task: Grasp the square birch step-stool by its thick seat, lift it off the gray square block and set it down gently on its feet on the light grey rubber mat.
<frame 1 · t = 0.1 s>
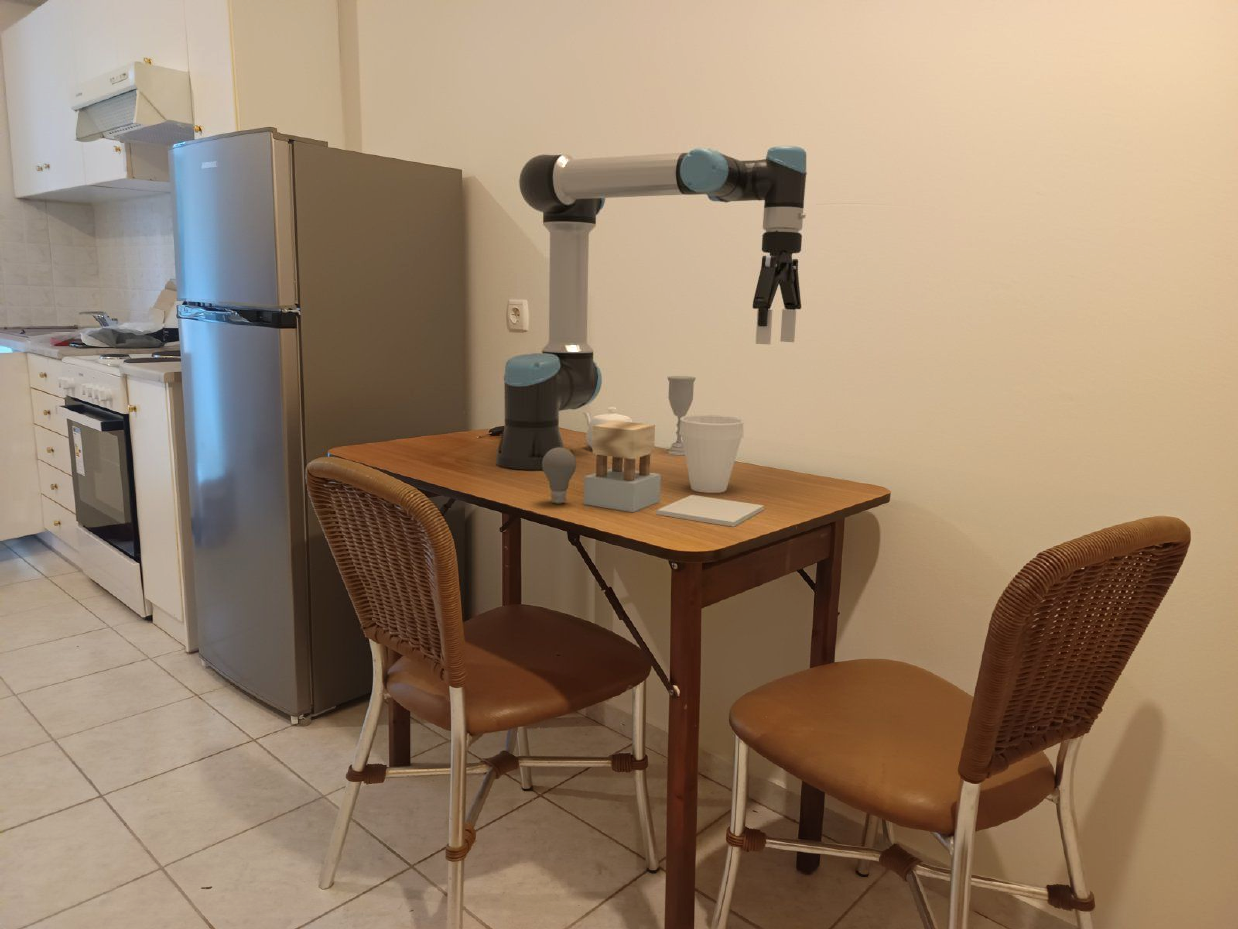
hand: (775, 343, 172), 28 cm above the table, fingers open, 13 cm apart
mat: (711, 512, 151), on the table
cup: (708, 489, 170), on the table
gray square block: (622, 502, 156), on the table
teapot: (609, 449, 211), on the table
stool: (623, 475, 155), point 5 cm above the table, touching gray square block
light bulb: (558, 504, 155), on the table
chalice: (678, 453, 208), on the table
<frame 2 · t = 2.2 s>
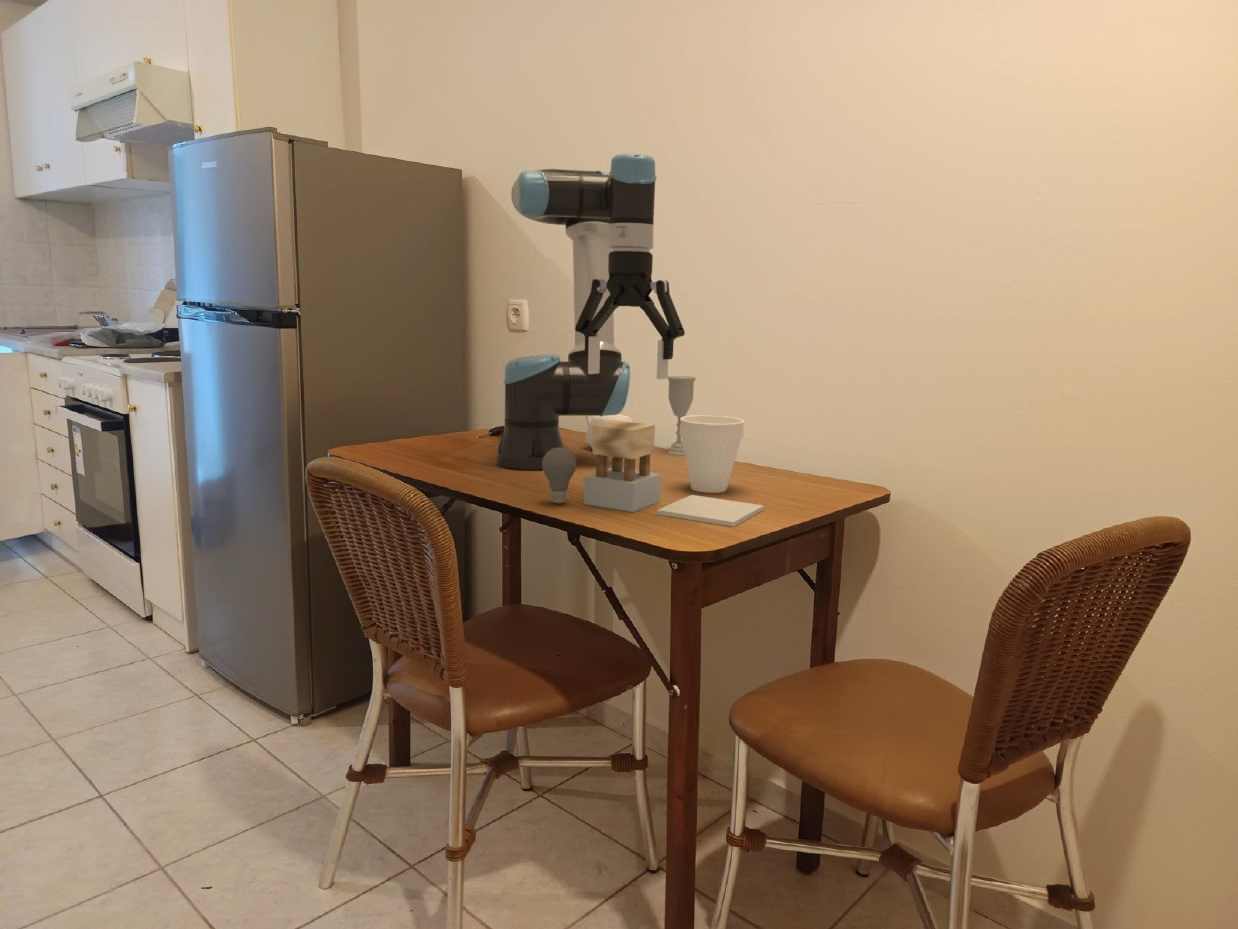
hand: (627, 376, 152), 23 cm above the table, fingers open, 13 cm apart
nothing on the table moved.
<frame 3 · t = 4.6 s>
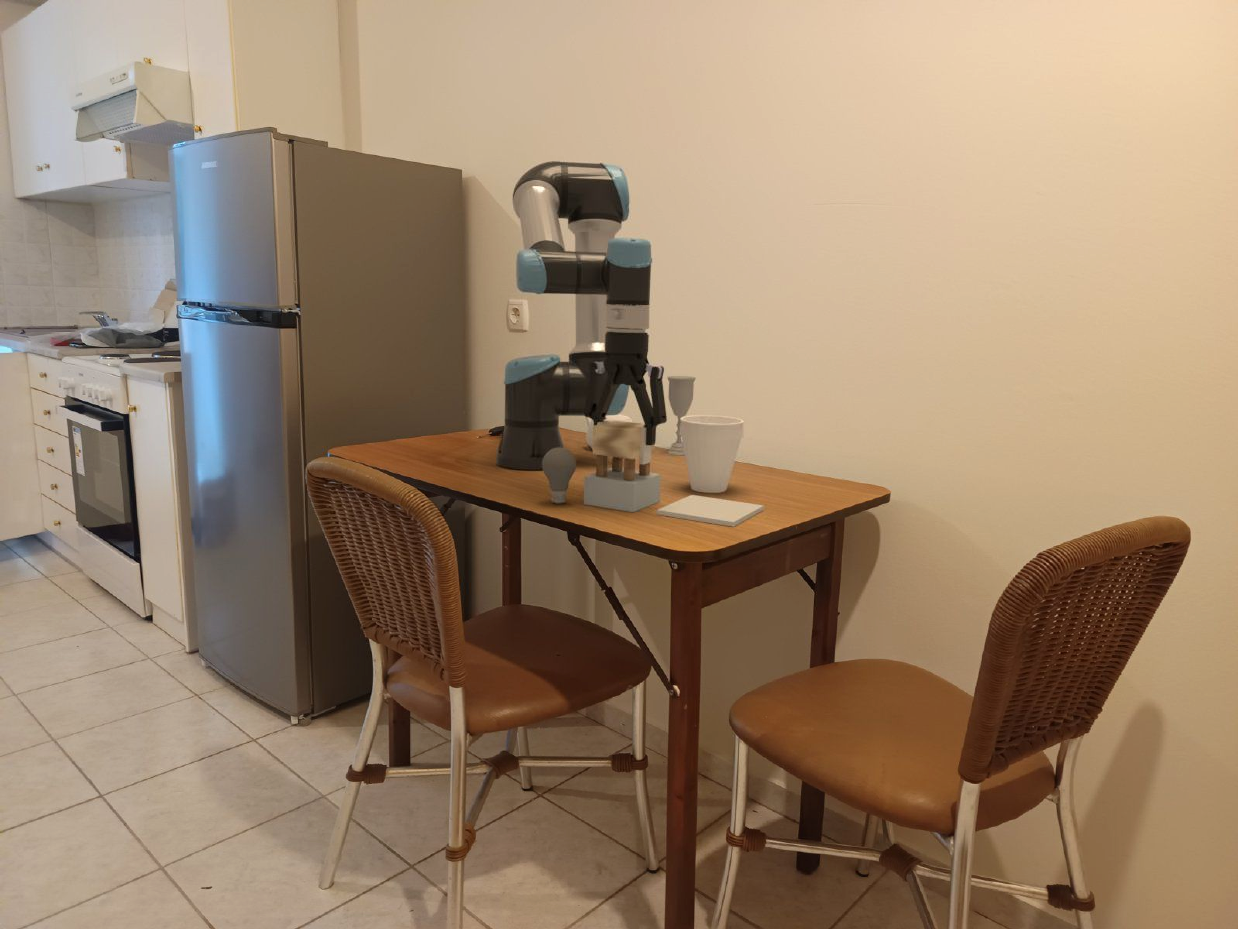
hand: (623, 460, 155), 8 cm above the table, fingers closed on stool, 8 cm apart
stool: (623, 475, 155), point 5 cm above the table, touching gray square block, gripper
everything else where it was.
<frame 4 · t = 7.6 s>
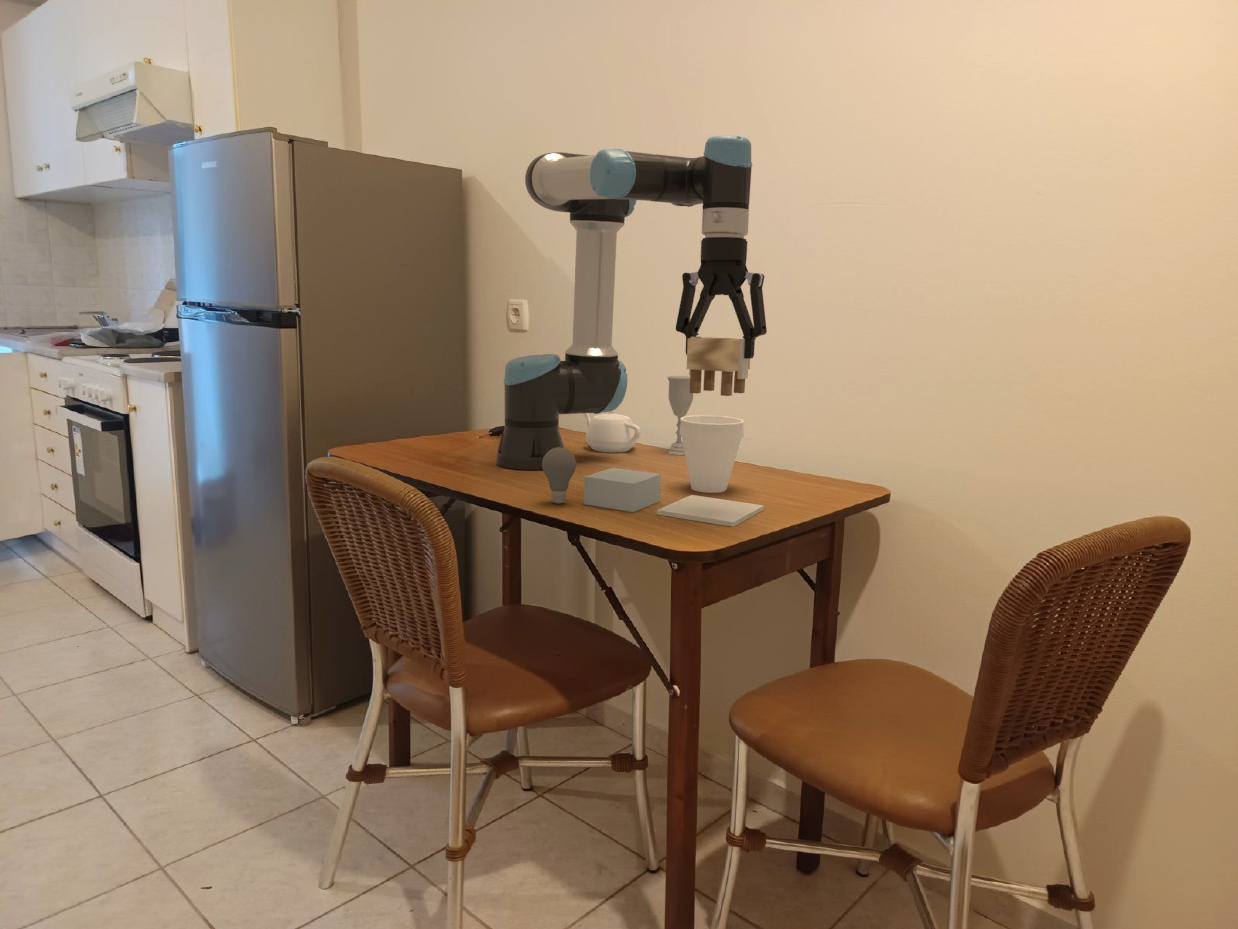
hand: (718, 376, 147), 23 cm above the table, fingers closed on stool, 8 cm apart
stool: (717, 392, 147), point 21 cm above the table, touching gripper
everything else where it was.
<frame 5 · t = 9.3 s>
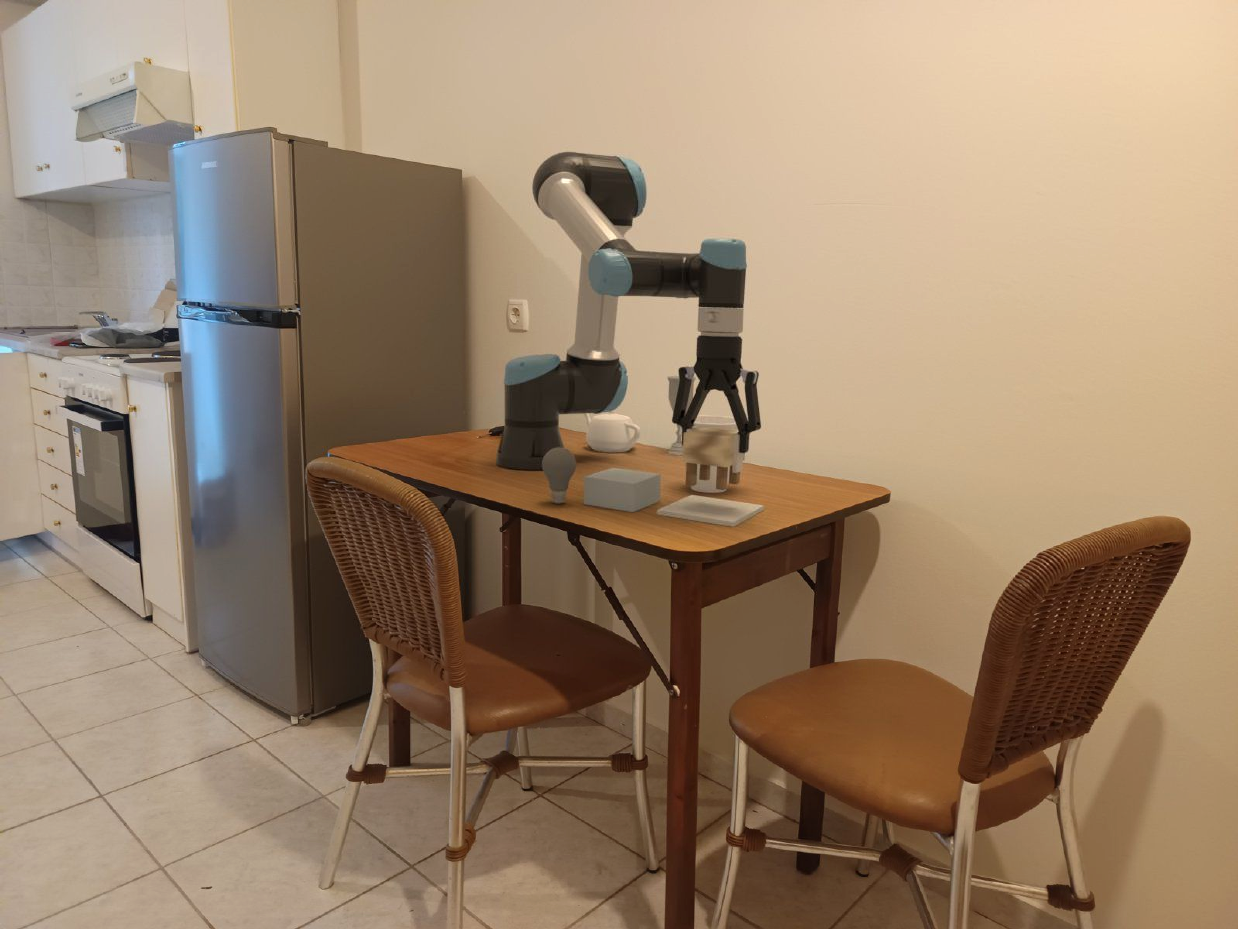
hand: (713, 468, 150), 8 cm above the table, fingers closed on stool, 8 cm apart
stool: (712, 484, 150), point 5 cm above the table, touching gripper
everything else where it was.
when the fingers open (5 cm above the table, at t = 10.6 s): stool drops 2 cm, resting on mat.
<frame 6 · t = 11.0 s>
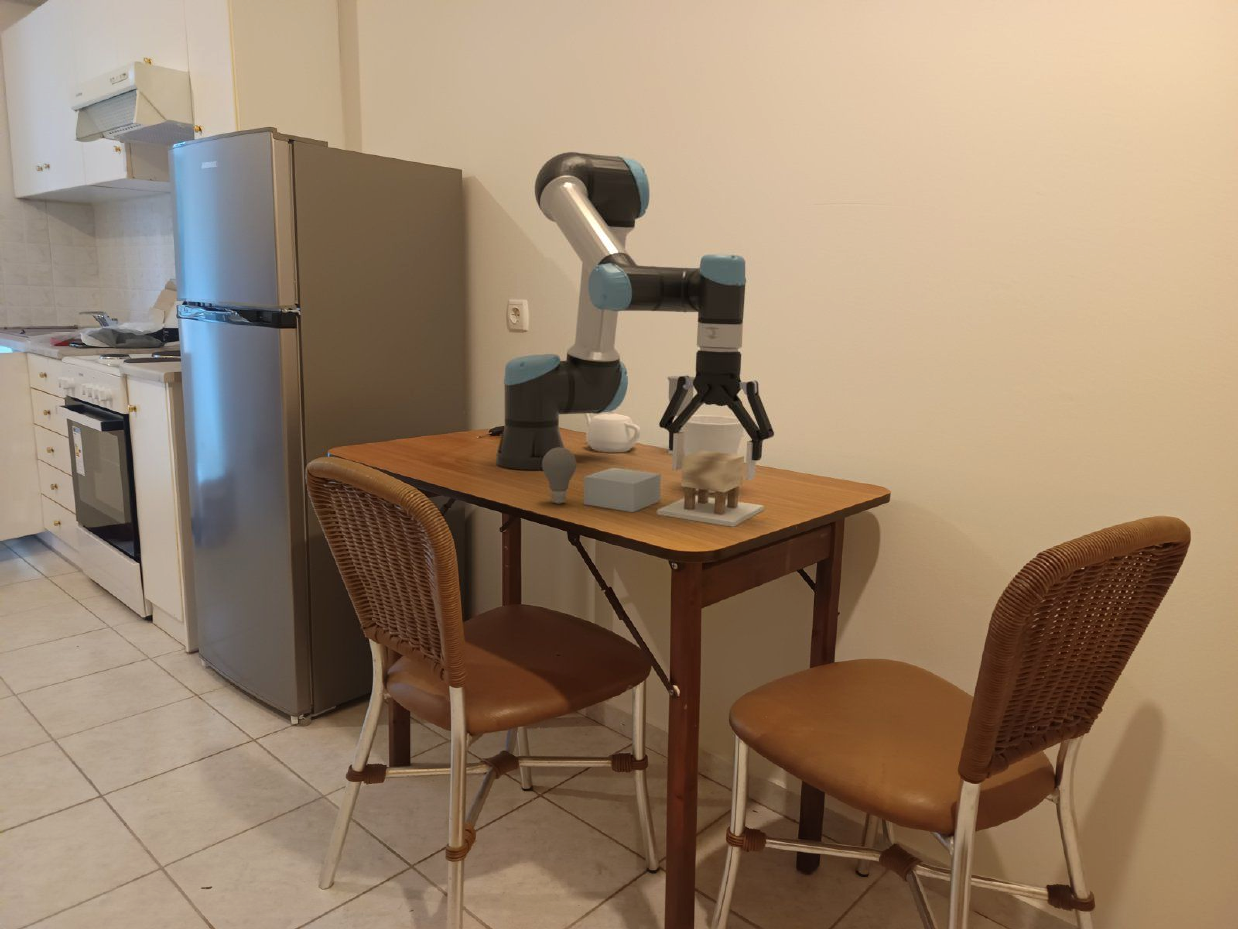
hand: (712, 474, 150), 7 cm above the table, fingers open, 13 cm apart
stool: (711, 507, 151), point 1 cm above the table, touching mat
everything else where it was.
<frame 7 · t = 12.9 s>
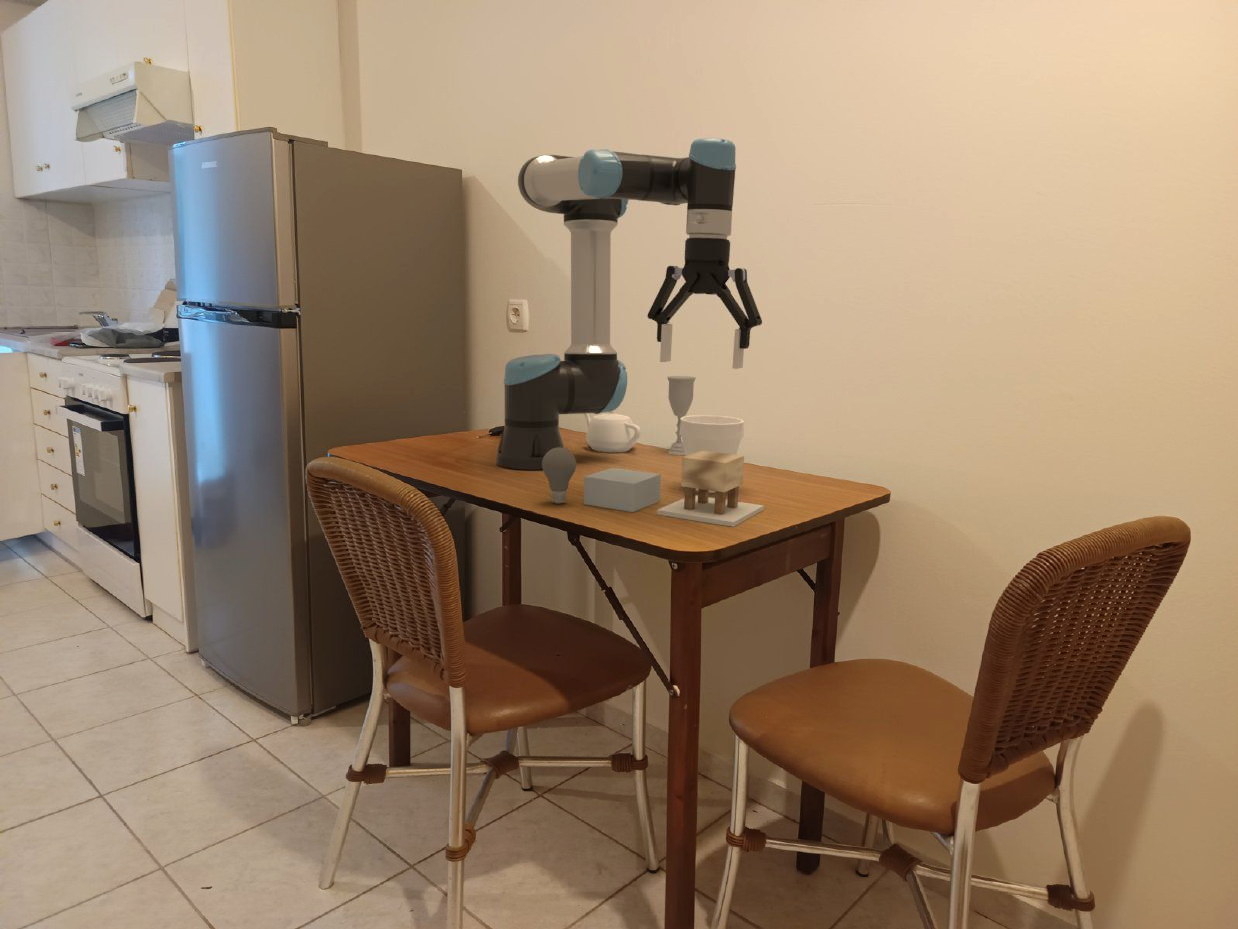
hand: (700, 364, 150), 25 cm above the table, fingers open, 13 cm apart
nothing on the table moved.
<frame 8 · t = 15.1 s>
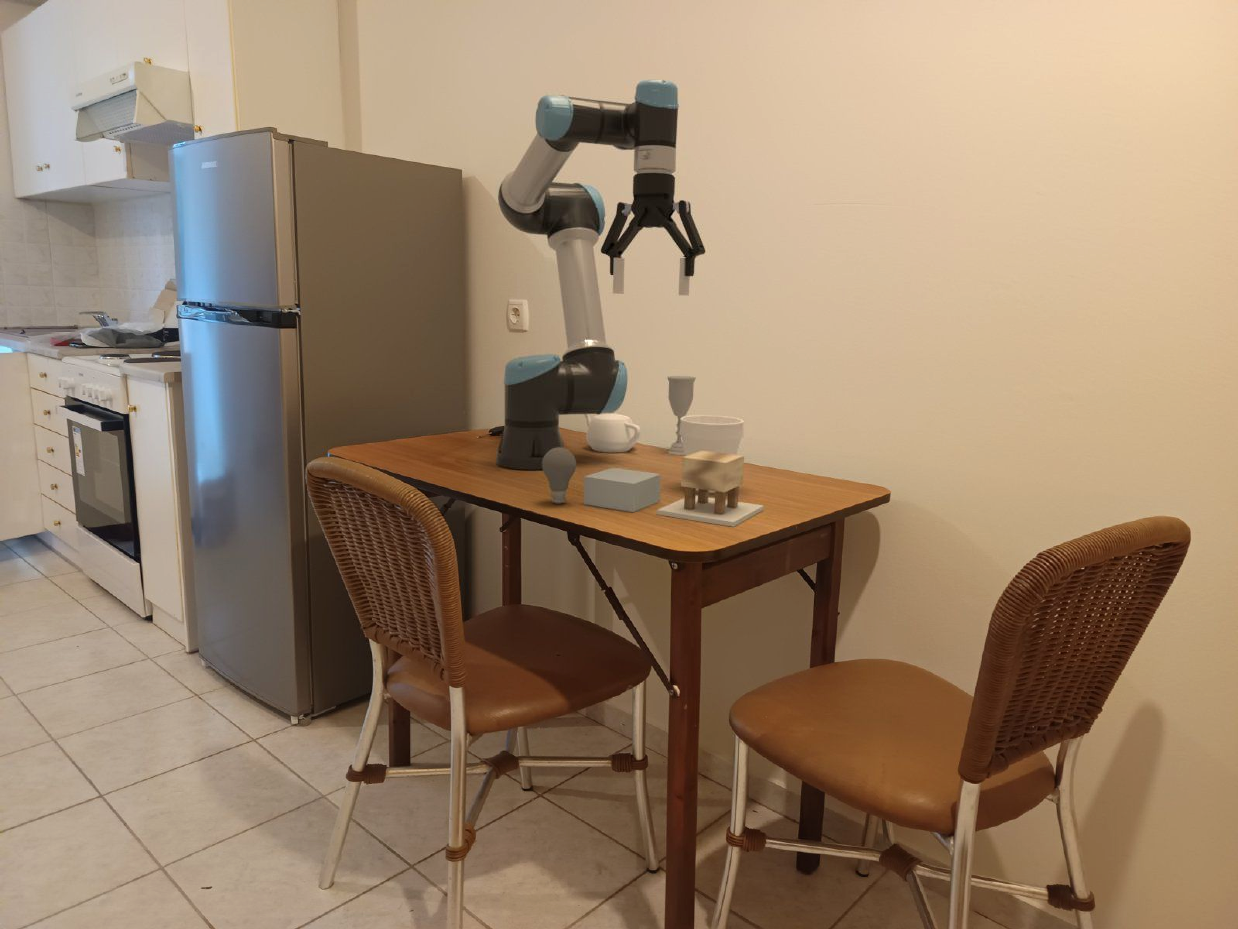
hand: (650, 294, 161), 37 cm above the table, fingers open, 13 cm apart
nothing on the table moved.
at the end: stool inside the target area on the mat (0.1 cm from its centre), point 0.8 cm above the mat's base; stool tilted 0°; the gripper is holding nothing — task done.
